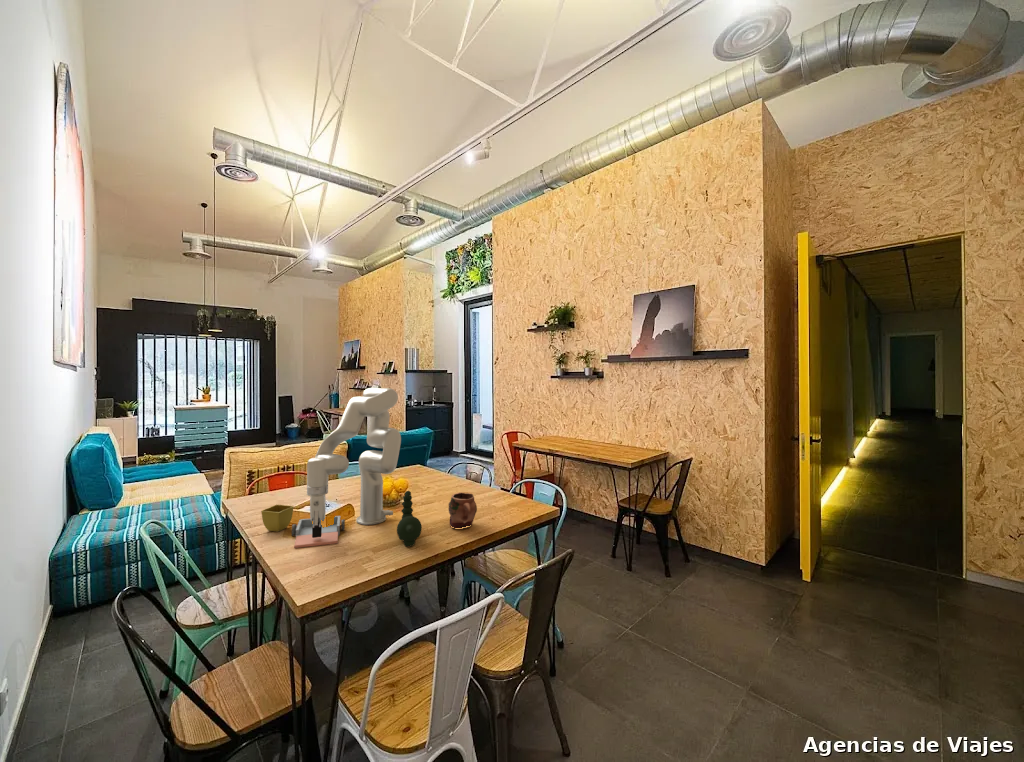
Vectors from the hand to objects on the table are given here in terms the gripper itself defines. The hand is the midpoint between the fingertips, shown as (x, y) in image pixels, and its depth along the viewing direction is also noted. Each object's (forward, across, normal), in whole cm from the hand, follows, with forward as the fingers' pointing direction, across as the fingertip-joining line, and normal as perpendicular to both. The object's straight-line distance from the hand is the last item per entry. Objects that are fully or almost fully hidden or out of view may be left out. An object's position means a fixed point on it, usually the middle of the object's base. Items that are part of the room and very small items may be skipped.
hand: (316, 536), depth 164 cm
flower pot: (+3, +20, +16) cm, 26 cm away
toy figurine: (+3, -8, -34) cm, 35 cm away
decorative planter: (+3, 0, -58) cm, 58 cm away
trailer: (+2, +14, 0) cm, 14 cm away
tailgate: (+1, +5, 0) cm, 5 cm away
